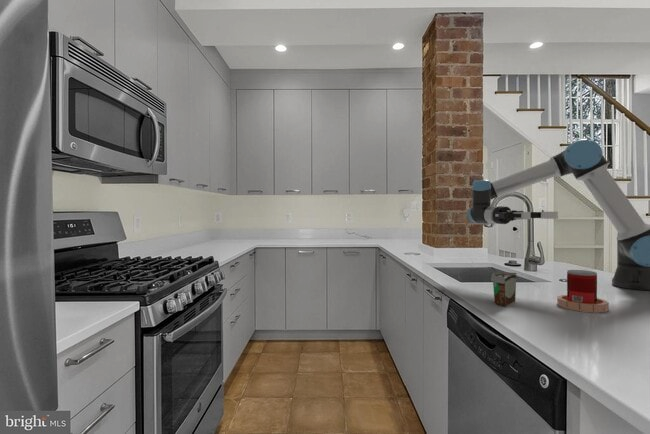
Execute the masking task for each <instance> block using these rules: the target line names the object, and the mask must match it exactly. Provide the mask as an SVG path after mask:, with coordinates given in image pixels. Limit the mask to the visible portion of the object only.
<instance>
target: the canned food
mask: <svg viewBox="0 0 650 434" xmlns="http://www.w3.org/2000/svg"><path fill="white" fill-rule="evenodd" d="M566 284H567V285H566V295H567V300H568V301H572V302H577V303H586V304H597V298H598V274H597V272H596V271H592V270H585V269H568V270H567V271H566Z"/></svg>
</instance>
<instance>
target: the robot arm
mask: <svg viewBox="0 0 650 434" xmlns="http://www.w3.org/2000/svg"><path fill="white" fill-rule="evenodd" d="M608 166H609V162H608V160H607V158H605V157H604V155H603V149H602V147H601V145H600V144H599V143H598V142H596V140H595V141H594V140H591V139H586V138H585V139H583V138H582V139H579V140H578V139H577V140H576V141H573V142H572V143H570V144H569V145H568V146H566V148H565V149H564V150H563V151H561V152H560V153H557V154H555V155H553V156H551V157H550V159H549V160H547V161H544V162H541V163H539V164H536V165H533V166H531V167H528V168H525V169H524V170H520V171H518V172H515V173H513V174H510V175H508V176H505V177H503V178H500V179H497V180H494V181H493V182H491V180H489V179H478V180H477V179H475V180H474V181H472V186H471V187H472V188H471V189H472V206H471V207H470V208H469V209H468V211H467V214H466V215H467V216H466V217H467V219H468V220H469V221H470V222H471V223H475V224H491V225H492V226H495V225H499V224H500V225H508V224H509V223H510V222H512V221H516V220H532V219H542V220H543V219H544V220H545V219H547V220H549V219H550V220H551V219H552V220H554V219H555V220H558V219H559V212H558V211H545V210H543V209H542V210H541V211H523V210H515V209H512V210H511V208H510V207H509V206H505V205H501V206H498V205H495V206H494V205H492V206H491V203H492V202H491V201H492V200H494V199H496V198H499V197H502V196H504V195H507V194H510V193H512V192H516V191H518V190H521V189H524V188H526V187H529V186H531V185H534V184H537V183H540V182H543V181H546V180H548V179H549V180H550V179H551V178H552V179H553V178H554V177H558V178H559V177H560V178H561V177H564V176H566V175H571V174H572V175H573V176H574V178H575V179H576V180H578V181H581V182H582V183H584V185H585V186H586V187H587V189H588V191H589V192H590V193H591V195H592V196H593V198H594V199H595V201H596V202H597V203H598V205H599V206H600V208H601V209H602V211H603V212H604V214H605V215H606V217H607V218H608V219H609V221H610V223H611V224H612V225H613V226H614V228H615V230H616V232H617V236H616V241H617V242H616V244H617V245H616V247H617V251H616V256H617V257H616V261H617V263H616V264H617V265H616V269H615V272H614V275H613V277H612V278H611V285H612V286H614V287H618V288H623V289H629V290H638V291H639V290H640V291H650V224H648V223H646V222H645V221H644V220H643V219H642V217H641V216H640V214H639V212H637V210H636V209H635V207H634V206H633V205H632V203H631V202H630V200H629V199H628V197H627V196H626V194H625V193H624V191H623V190H622V189H621V188H620V186H619V184H618V183H617V182H616V180H615V179H614V177H613V176H612V175H611V173H610V172H609V170H608Z"/></svg>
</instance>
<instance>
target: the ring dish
mask: <svg viewBox="0 0 650 434" xmlns="http://www.w3.org/2000/svg"><path fill="white" fill-rule="evenodd" d="M556 299H557V300H556V301H557V302H556V303H557V305H558V306H559V307H561V308H562V309H567V310H571V311H576V312H585V313H606V312H608V311H609V309H610V307H609V305H610V304H609V301H608V300H606V299H603V298H599V297H597V304H586V303H577V302H572V301H568V300H567V294H560V295H557V298H556Z"/></svg>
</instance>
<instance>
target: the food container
mask: <svg viewBox="0 0 650 434" xmlns="http://www.w3.org/2000/svg"><path fill="white" fill-rule="evenodd" d="M517 275H518V274H517V272H508V271H507V272H506V271H505V272H504V271H503V272H493V273H492V275H491V278H490V281H491V282H492V287H493V296H494V297H493V298H494V304H495V305H497V306H500V307H504V308H506V307H509V306H510V305H512V304H514V303H515V302H516V299H517V298H516V294H517V278H518V277H517Z"/></svg>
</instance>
